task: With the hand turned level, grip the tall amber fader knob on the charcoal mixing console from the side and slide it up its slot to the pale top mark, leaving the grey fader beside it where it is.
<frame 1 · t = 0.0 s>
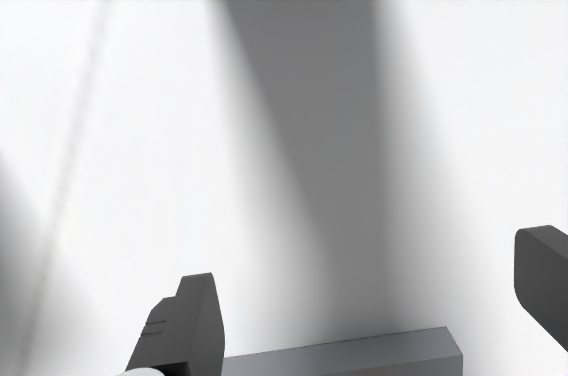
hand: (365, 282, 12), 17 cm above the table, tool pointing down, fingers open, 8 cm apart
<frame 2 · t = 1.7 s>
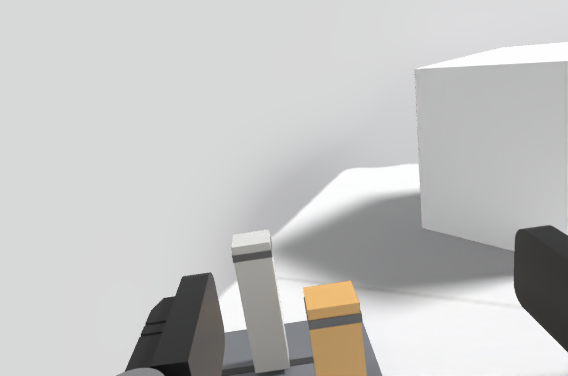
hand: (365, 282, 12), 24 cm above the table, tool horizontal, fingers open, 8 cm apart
grey fader: (262, 302, 38), point 9 cm above the table, slide at 5.0 cm
cube: (530, 218, 69), on the table
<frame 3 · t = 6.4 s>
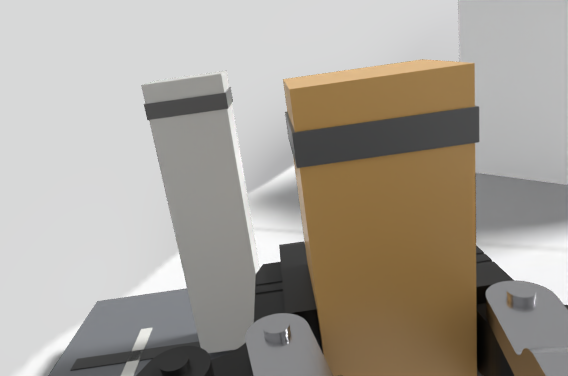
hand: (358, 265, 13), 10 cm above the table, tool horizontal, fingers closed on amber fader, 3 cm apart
grey fader: (213, 216, 20), point 10 cm above the table, slide at 5.0 cm
amber fader: (386, 342, 10), point 10 cm above the table, slide at 0.0 cm, touching gripper
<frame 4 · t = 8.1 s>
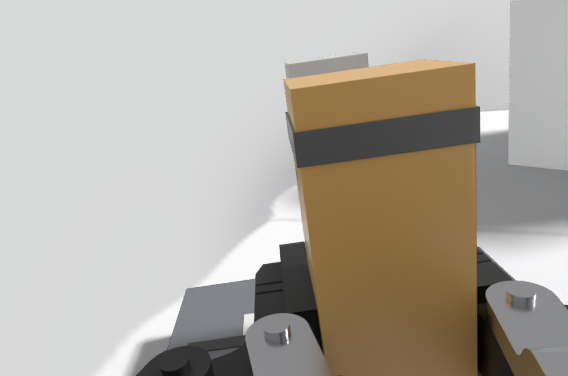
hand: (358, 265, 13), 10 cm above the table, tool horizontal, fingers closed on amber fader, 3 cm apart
grey fader: (338, 199, 20), point 10 cm above the table, slide at 5.0 cm
amber fader: (386, 342, 10), point 10 cm above the table, slide at 5.5 cm, touching gripper
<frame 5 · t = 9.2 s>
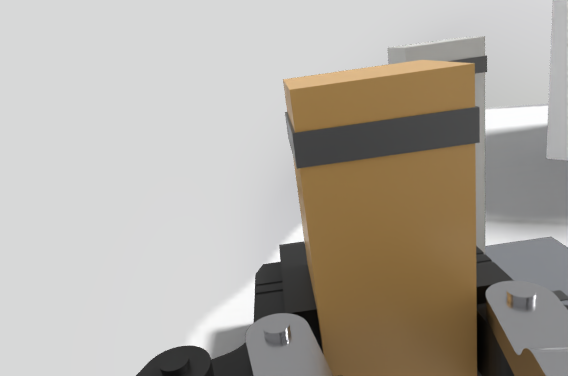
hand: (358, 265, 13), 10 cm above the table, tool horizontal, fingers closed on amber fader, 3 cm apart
grey fader: (437, 184, 20), point 10 cm above the table, slide at 5.0 cm
amber fader: (386, 343, 10), point 9 cm above the table, slide at 9.9 cm, touching gripper
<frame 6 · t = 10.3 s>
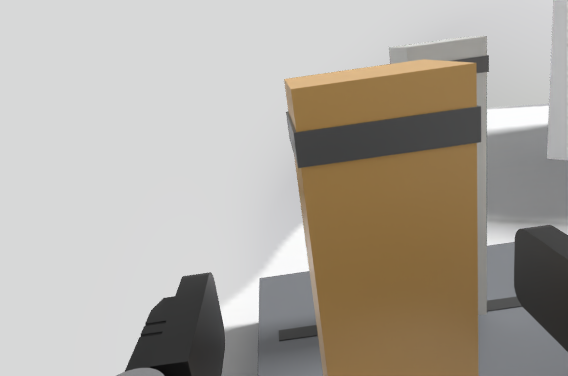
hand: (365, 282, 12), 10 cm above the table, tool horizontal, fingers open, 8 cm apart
grey fader: (439, 184, 20), point 10 cm above the table, slide at 5.0 cm
amber fader: (387, 342, 10), point 9 cm above the table, slide at 9.9 cm
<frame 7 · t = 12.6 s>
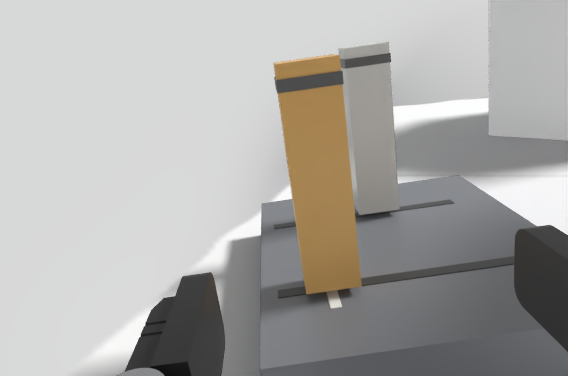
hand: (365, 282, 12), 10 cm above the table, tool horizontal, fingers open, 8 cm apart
grey fader: (369, 130, 33), point 10 cm above the table, slide at 5.0 cm
amber fader: (318, 177, 24), point 10 cm above the table, slide at 9.9 cm
console: (396, 278, 31), on the table
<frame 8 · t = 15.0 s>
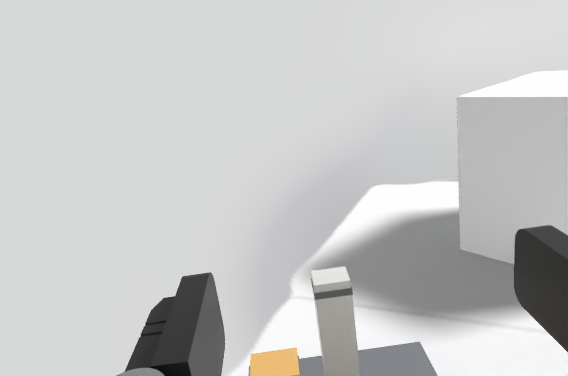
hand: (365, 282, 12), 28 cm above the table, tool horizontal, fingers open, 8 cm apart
grey fader: (337, 336, 39), point 9 cm above the table, slide at 5.0 cm
cube: (566, 241, 70), on the table
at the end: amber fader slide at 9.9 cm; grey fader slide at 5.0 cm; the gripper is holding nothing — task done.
